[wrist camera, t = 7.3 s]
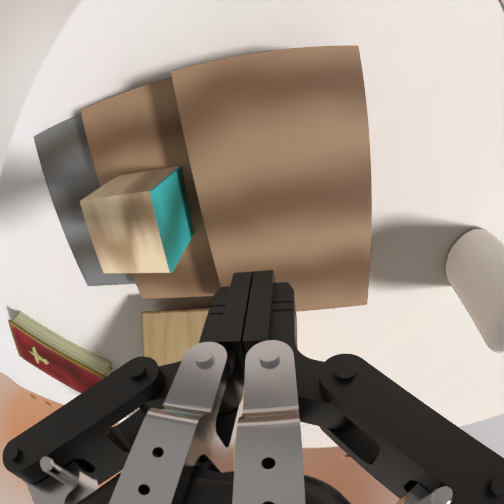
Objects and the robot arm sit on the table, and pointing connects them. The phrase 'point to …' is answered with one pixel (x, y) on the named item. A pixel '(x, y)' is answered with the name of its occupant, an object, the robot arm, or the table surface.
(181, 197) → the maple cube
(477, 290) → the pill bottle
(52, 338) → the hardcover book
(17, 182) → the table surface
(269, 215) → the walnut staircase
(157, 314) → the knife block
